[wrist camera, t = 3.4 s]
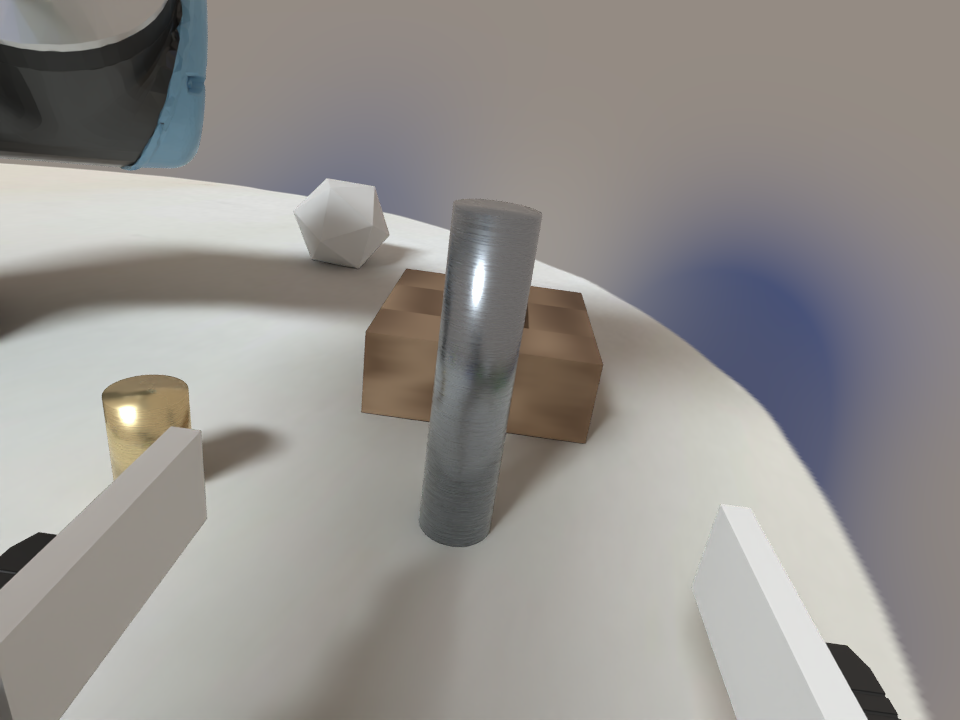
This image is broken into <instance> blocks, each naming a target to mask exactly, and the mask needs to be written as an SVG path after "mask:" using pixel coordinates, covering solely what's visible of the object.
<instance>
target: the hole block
mask: <svg viewBox="0 0 960 720" xmlns="http://www.w3.org/2000/svg"><path fill="white" fill-rule="evenodd" d="M445 276H446V274H441V273H434V272H426V271H419V270H412V269H406V270H405V271H404V273H403V275H402V276H401V278H400V279H399V281H398V282H397V284H396V285H395V287H394V289H393V290H392V292H391V293H390V295H389V296H388V298H387V299H386V301H385V303H384V304H383V306H382V307H381V309H380V310H379V312H378V313H377V315H376V317H375V318H374V320H373V321H372V323H371V324H370V326H369V327H368V329H367V331H366V336H365V355H364V373H363V391H362V409H361V412H365V413H372V414H379V415H386V416H393V417H400V418H407V419H414V420H421V421H429V422H430V415H431V406H432V396H433V387H434V378H435V368H436V359H437V350H438V341H439V331H440V322H441V313H442V304H443V294H444V285H445ZM602 368H603V363H602V360H601V356H600V353H599V350H598V347H597V343H596V340H595V337H594V333H593V330H592V327H591V323H590V320H589V317H588V314H587V310H586V307H585V304H584V300H583V297H582V294H581V293H577V292H570V291H563V290H555V289H548V288H541V287H534V286H530V292H529V298H528V304H527V310H526V316H525V322H524V327H523V333H522V339H521V345H520V351H519V357H518V363H517V369H516V375H515V381H514V387H513V393H512V399H511V405H510V411H509V417H508V423H507V429H506V432H507V433H514V434H521V435H528V436H535V437H542V438H549V439H556V440H564V441H571V442H578V443H585V442H586V438H587V433H588V429H589V424H590V420H591V416H592V411H593V407H594V403H595V398H596V394H597V389H598V385H599V381H600V376H601V372H602Z"/></svg>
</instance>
